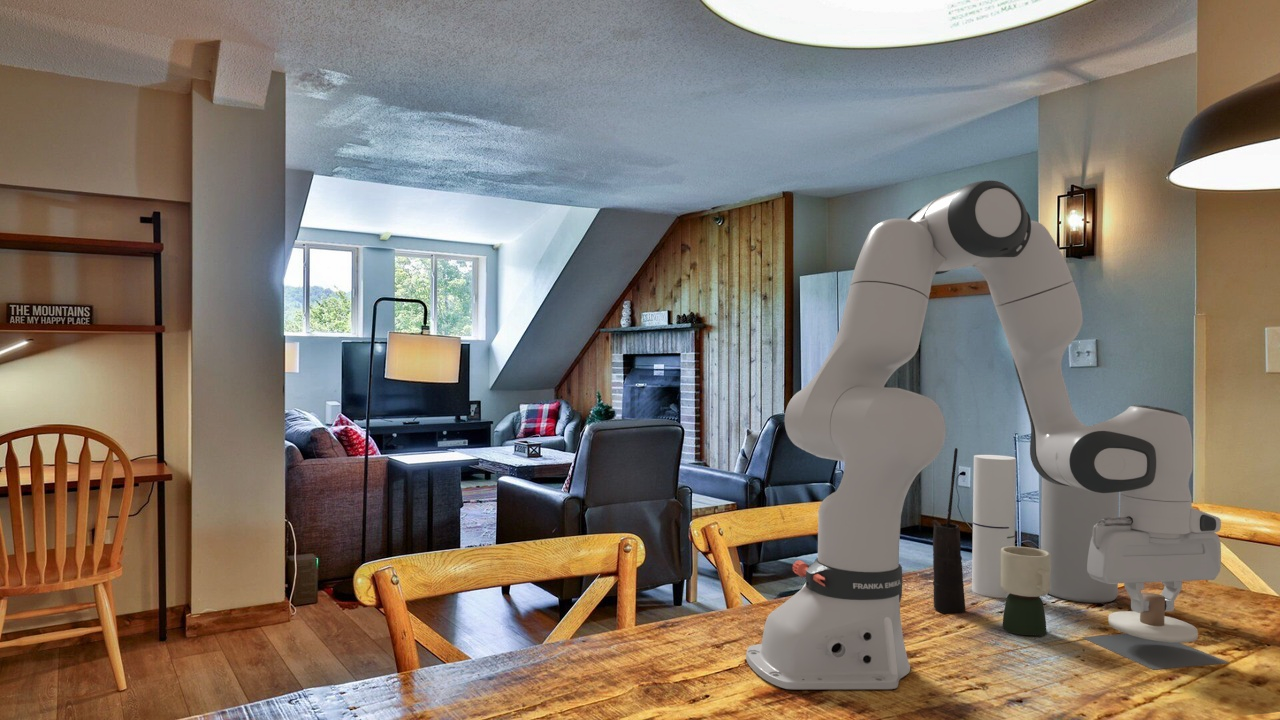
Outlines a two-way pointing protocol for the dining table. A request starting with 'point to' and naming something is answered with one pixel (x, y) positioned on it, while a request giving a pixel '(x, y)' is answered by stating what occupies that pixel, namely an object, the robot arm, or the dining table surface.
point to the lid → (1153, 623)
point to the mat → (1154, 652)
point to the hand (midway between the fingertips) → (1152, 611)
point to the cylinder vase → (1074, 540)
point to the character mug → (1025, 589)
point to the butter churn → (948, 562)
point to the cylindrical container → (992, 520)
